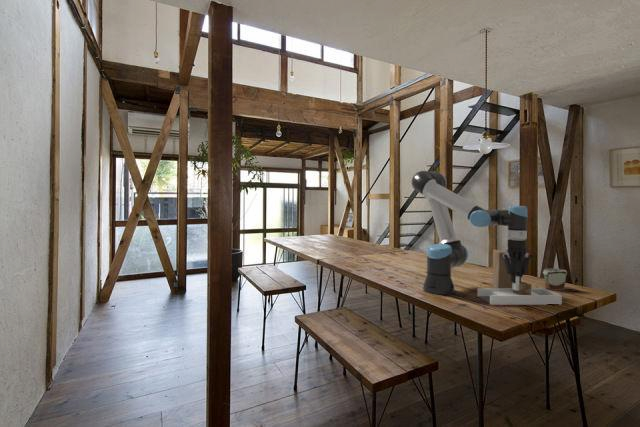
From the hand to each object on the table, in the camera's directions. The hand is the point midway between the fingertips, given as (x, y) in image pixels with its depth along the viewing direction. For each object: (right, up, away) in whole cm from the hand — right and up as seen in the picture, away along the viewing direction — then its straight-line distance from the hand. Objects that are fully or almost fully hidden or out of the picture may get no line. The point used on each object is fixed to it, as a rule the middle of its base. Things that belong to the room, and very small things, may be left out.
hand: (515, 289), depth 148 cm
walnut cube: (+3, -2, 0) cm, 4 cm away
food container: (+32, -4, +21) cm, 38 cm away
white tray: (+1, -5, 0) cm, 5 cm away
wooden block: (+6, -4, +19) cm, 20 cm away
